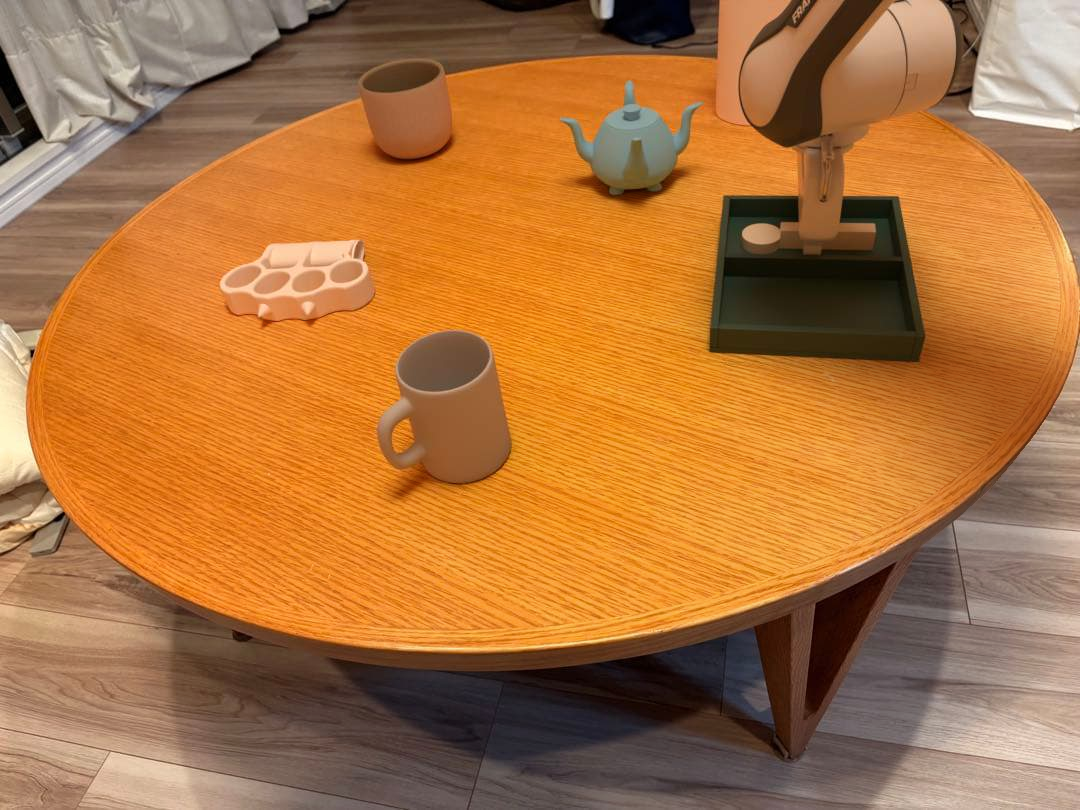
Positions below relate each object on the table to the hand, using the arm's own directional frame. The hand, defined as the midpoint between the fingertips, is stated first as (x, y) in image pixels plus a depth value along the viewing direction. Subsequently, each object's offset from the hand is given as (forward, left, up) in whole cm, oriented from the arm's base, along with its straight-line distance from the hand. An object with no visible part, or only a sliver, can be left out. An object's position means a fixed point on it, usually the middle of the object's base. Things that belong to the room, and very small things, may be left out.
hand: (810, 231), depth 92 cm
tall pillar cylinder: (+7, -37, -2) cm, 38 cm away
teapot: (+22, -16, -2) cm, 27 cm away
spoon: (0, 0, -2) cm, 2 cm away
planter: (+56, -26, -2) cm, 62 cm away
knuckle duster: (+58, +11, -2) cm, 59 cm away
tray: (0, +6, -2) cm, 7 cm away
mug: (+32, +36, -2) cm, 48 cm away
